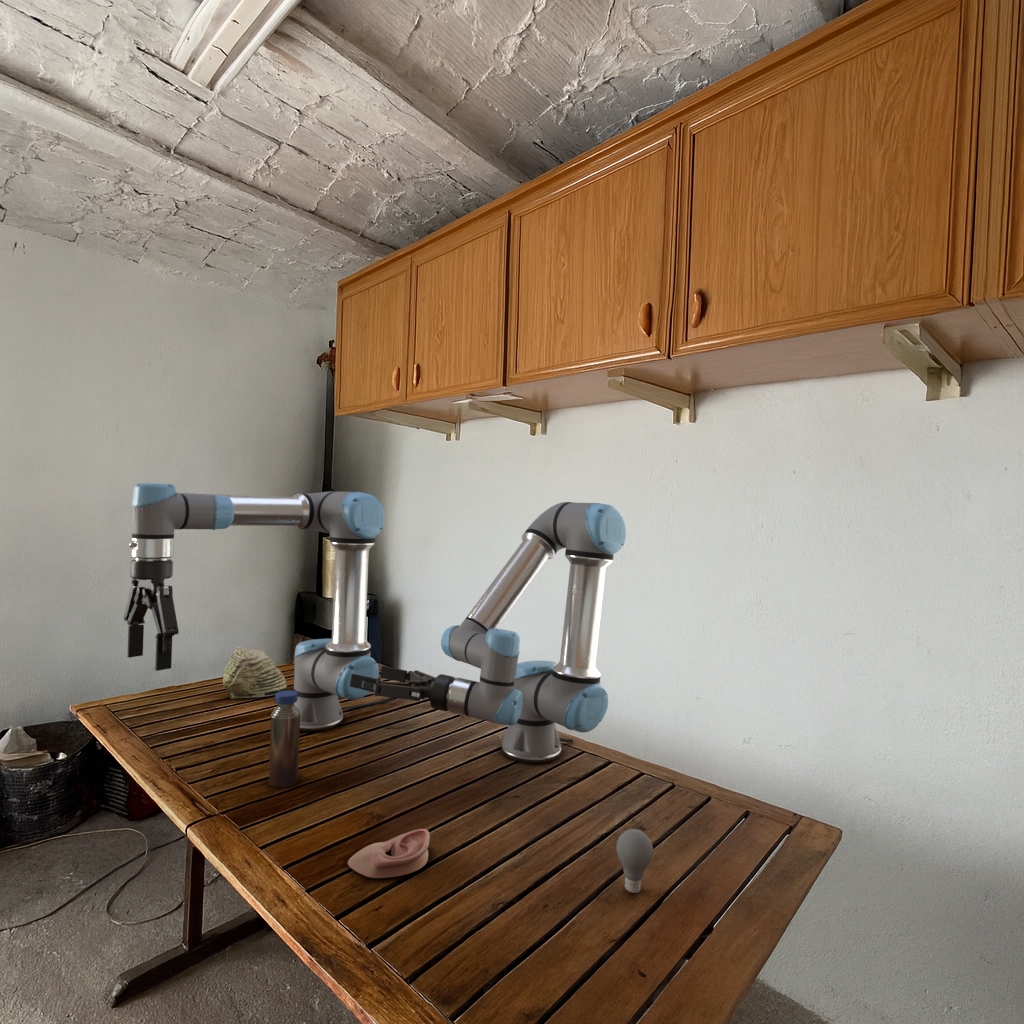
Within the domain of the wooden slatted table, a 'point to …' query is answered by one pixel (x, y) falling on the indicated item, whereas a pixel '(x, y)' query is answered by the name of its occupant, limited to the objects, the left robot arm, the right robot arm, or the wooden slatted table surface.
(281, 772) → the bottle
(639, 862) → the light bulb
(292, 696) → the cap
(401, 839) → the anatomical model
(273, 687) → the fossil
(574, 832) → the wooden slatted table surface
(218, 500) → the left robot arm
